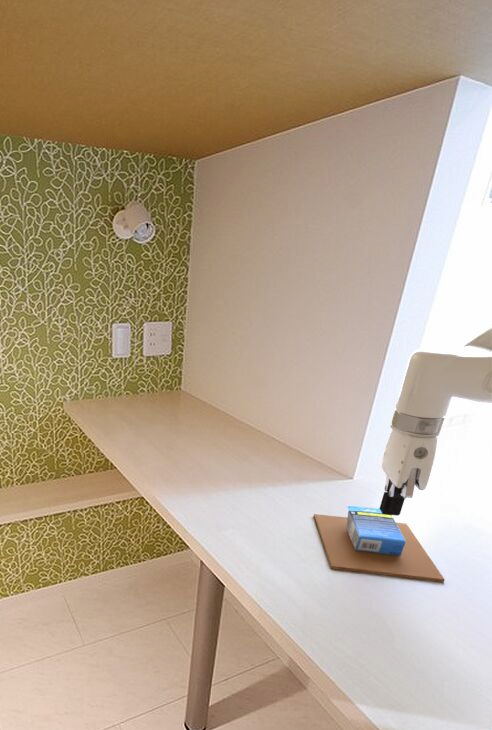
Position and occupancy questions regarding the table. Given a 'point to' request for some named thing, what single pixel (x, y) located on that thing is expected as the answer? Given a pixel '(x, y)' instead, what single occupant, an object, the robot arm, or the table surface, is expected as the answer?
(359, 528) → the label tape box
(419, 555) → the cork mat
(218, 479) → the table surface
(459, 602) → the table surface
